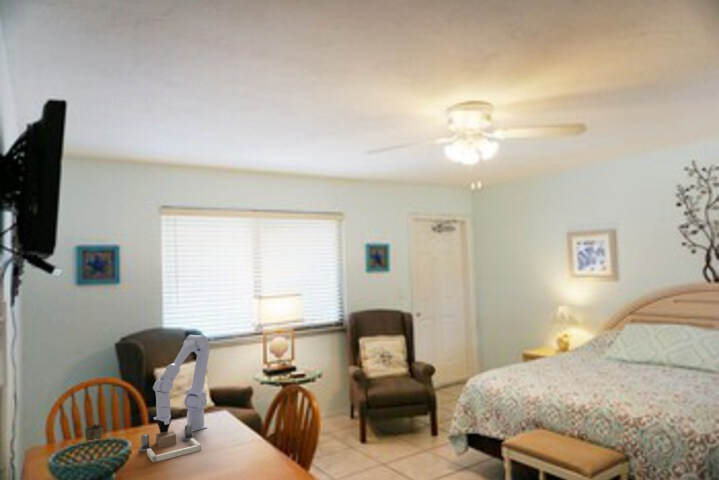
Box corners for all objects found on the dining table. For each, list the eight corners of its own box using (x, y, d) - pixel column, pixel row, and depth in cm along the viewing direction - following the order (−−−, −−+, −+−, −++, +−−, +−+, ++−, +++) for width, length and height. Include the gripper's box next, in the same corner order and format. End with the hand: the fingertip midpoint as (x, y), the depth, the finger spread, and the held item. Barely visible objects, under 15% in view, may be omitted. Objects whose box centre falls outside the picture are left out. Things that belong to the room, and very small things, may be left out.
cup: (80, 447, 209) (80, 428, 209) (94, 441, 216) (94, 423, 216) (94, 448, 207) (93, 429, 207) (107, 442, 214) (107, 424, 214)
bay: (146, 454, 197) (146, 449, 197) (193, 442, 208) (193, 437, 208) (152, 462, 187) (152, 457, 187) (201, 450, 198) (201, 445, 198)
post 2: (181, 439, 213) (181, 425, 213) (192, 436, 216) (192, 422, 216) (184, 442, 209) (184, 428, 209) (196, 439, 212) (195, 425, 212)
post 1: (138, 449, 203) (137, 435, 203) (150, 446, 205) (150, 432, 206) (140, 452, 198) (139, 438, 199) (152, 449, 201) (152, 435, 202)
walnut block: (156, 443, 209) (155, 433, 210) (172, 439, 213) (172, 430, 213) (159, 447, 204) (159, 438, 204) (176, 443, 207) (176, 434, 208)
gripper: (150, 404, 217) (151, 434, 216) (157, 411, 205) (157, 443, 204) (166, 401, 221) (167, 431, 220) (174, 408, 209) (175, 439, 208)
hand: (164, 436), depth 213 cm, fingers closed
